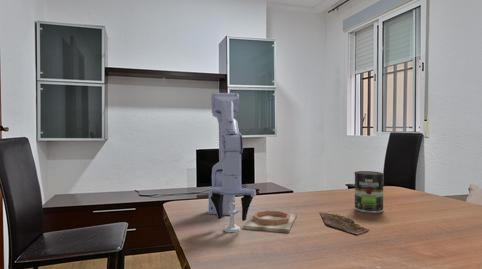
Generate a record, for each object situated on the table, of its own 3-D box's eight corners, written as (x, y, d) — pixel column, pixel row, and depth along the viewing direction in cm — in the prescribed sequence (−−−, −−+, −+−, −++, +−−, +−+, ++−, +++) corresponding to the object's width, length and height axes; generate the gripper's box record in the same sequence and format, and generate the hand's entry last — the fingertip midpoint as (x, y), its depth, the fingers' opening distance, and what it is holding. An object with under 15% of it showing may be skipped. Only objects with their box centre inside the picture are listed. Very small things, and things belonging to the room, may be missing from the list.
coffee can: (384, 214, 114) (384, 175, 114) (353, 211, 118) (353, 173, 118) (383, 207, 123) (383, 171, 123) (355, 205, 127) (355, 170, 127)
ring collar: (250, 223, 100) (250, 218, 100) (258, 213, 111) (258, 209, 111) (286, 226, 97) (286, 221, 97) (291, 216, 108) (291, 211, 108)
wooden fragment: (376, 235, 92) (376, 232, 92) (340, 237, 90) (340, 233, 90) (338, 213, 117) (338, 210, 117) (309, 214, 116) (309, 211, 116)
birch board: (243, 228, 98) (243, 225, 98) (257, 214, 115) (257, 211, 115) (289, 232, 94) (289, 229, 94) (296, 217, 111) (296, 214, 111)
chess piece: (223, 227, 99) (223, 195, 99) (239, 227, 99) (239, 195, 99) (224, 232, 94) (224, 199, 94) (240, 232, 94) (240, 198, 94)
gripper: (204, 175, 95) (204, 220, 95) (251, 177, 90) (251, 224, 91) (213, 172, 101) (213, 214, 102) (257, 173, 97) (257, 218, 97)
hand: (232, 219), depth 96 cm, fingers open, 7 cm apart
